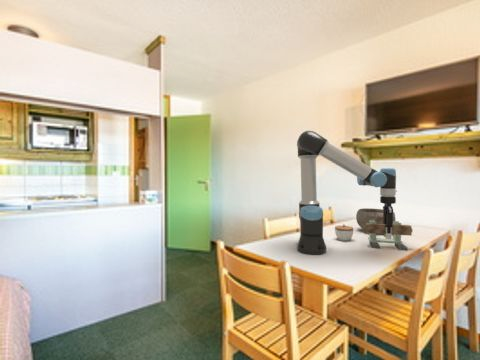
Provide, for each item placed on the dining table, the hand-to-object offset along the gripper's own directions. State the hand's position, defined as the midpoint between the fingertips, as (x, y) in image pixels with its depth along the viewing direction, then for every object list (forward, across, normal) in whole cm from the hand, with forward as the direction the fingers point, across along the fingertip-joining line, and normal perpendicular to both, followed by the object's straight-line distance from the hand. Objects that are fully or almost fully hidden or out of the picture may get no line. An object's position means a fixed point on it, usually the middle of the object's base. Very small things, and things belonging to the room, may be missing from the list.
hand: (387, 237), depth 148 cm
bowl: (+5, +39, 0) cm, 39 cm away
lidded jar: (+5, +10, +22) cm, 25 cm away
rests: (+5, 0, 0) cm, 5 cm away
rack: (+5, +13, -1) cm, 14 cm away
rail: (-2, 0, 0) cm, 2 cm away
